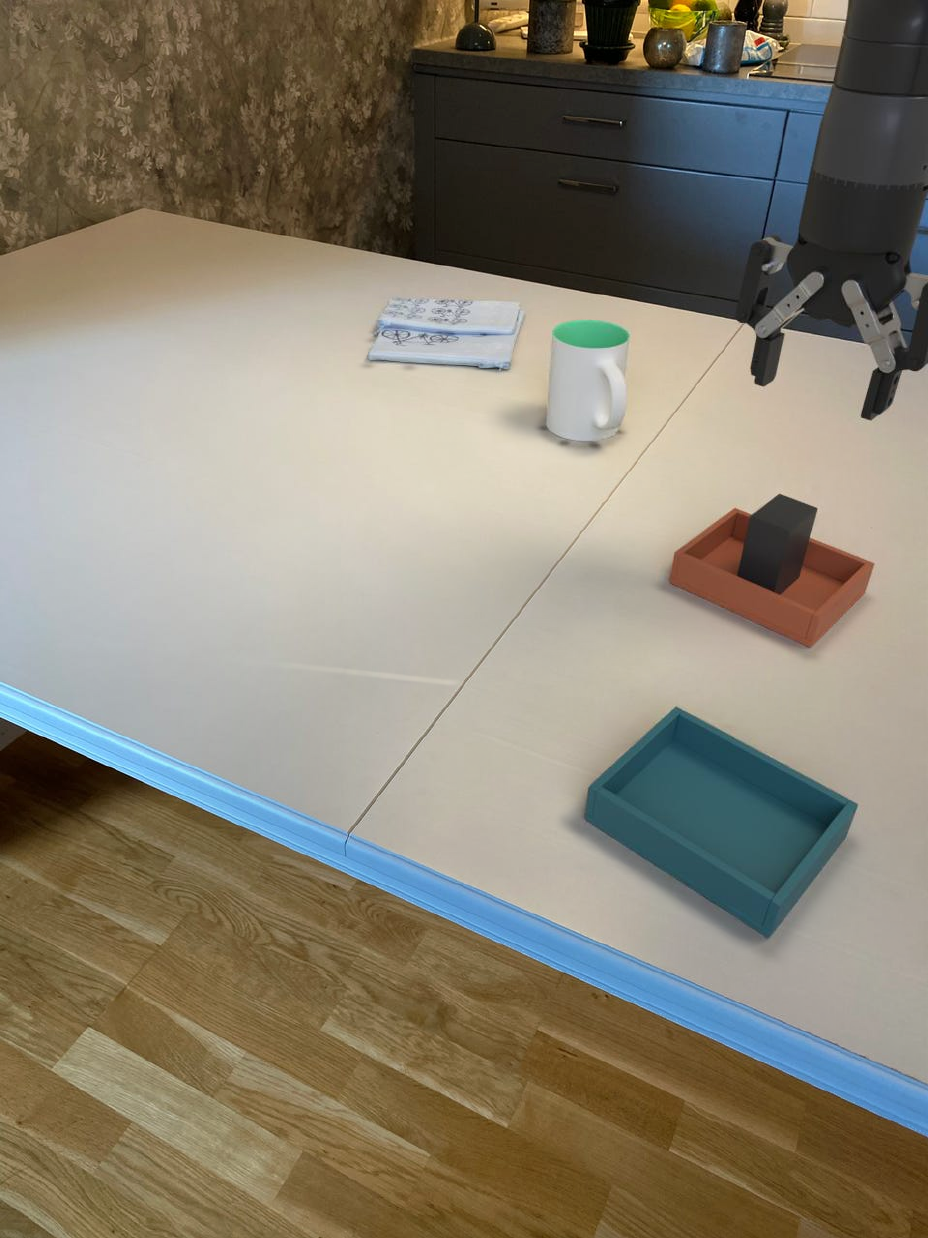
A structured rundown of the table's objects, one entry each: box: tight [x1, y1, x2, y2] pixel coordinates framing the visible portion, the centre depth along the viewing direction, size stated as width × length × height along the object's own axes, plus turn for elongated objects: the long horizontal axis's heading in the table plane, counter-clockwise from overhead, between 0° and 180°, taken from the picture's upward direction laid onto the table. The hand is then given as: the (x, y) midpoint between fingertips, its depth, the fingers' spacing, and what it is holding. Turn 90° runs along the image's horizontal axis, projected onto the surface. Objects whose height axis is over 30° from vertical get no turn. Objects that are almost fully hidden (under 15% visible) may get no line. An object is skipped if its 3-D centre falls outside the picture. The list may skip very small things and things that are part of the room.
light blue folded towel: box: [367, 297, 526, 372], centre depth 128 cm, size 19×20×2 cm
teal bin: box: [583, 706, 859, 939], centre depth 62 cm, size 13×10×3 cm
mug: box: [545, 319, 631, 442], centre depth 104 cm, size 12×8×10 cm, turn 22°
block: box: [737, 493, 819, 595], centre depth 81 cm, size 4×5×7 cm
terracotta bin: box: [668, 507, 875, 648], centre depth 83 cm, size 13×10×3 cm
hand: (815, 398), depth 73 cm, fingers open, 8 cm apart
